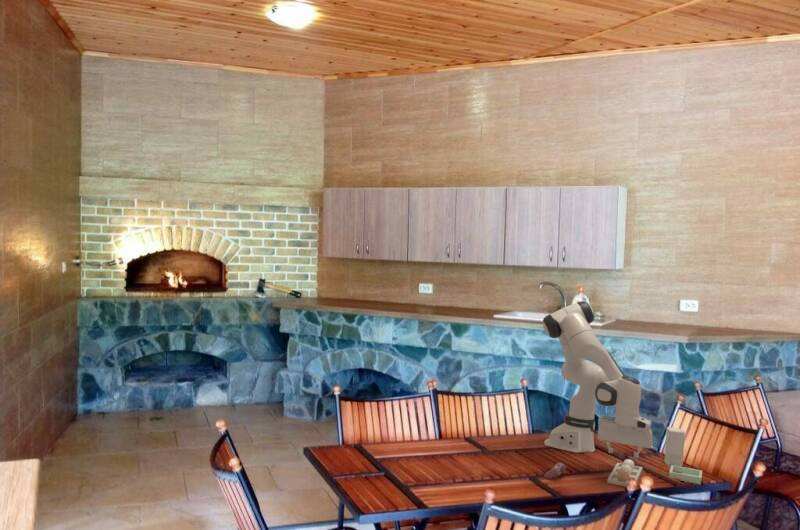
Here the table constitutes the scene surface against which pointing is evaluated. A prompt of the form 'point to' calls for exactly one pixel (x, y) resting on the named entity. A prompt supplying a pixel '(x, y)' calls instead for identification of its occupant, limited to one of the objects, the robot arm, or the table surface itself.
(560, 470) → the brown animal figurine
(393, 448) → the table surface
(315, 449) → the table surface
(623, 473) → the brown egg
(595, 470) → the table surface
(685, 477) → the dish
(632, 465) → the white egg
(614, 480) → the shallow rectangular tray
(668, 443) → the skincare box
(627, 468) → the white egg
